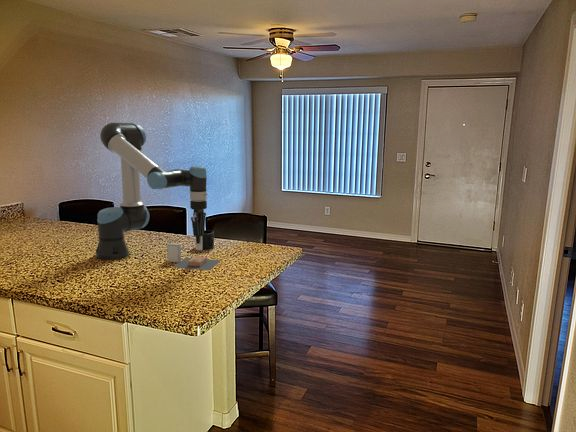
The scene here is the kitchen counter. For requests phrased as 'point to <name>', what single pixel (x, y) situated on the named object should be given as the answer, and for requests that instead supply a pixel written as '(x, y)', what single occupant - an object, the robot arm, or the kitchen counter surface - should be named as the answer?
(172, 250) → the grey tile
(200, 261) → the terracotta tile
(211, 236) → the mug
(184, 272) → the kitchen counter surface
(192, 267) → the mat
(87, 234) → the kitchen counter surface
